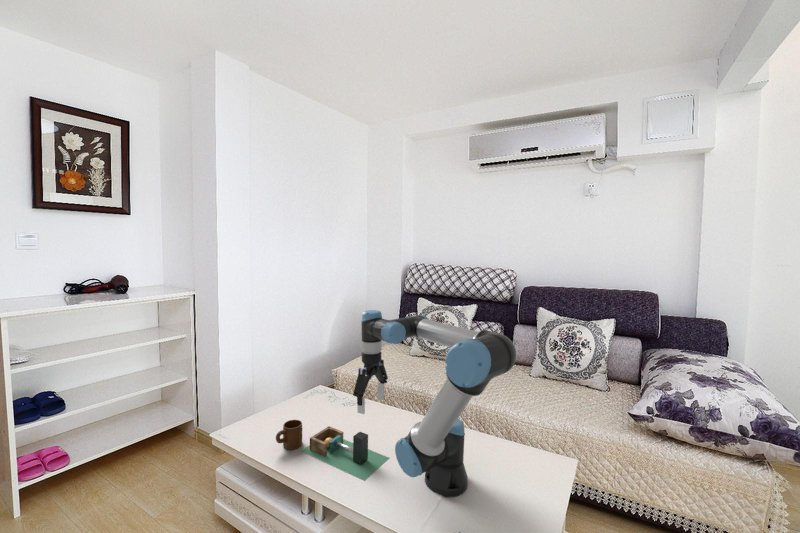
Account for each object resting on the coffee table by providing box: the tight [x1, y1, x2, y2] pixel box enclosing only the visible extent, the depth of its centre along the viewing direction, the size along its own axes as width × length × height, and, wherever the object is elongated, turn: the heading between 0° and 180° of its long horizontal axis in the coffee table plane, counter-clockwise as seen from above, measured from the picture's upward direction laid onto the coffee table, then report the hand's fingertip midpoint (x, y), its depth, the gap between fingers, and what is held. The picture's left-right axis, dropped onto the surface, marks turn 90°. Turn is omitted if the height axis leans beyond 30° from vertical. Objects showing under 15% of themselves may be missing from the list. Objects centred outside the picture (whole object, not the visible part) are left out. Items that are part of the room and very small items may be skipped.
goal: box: [309, 426, 344, 457], centre depth 146 cm, size 8×11×5 cm
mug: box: [275, 419, 303, 451], centre depth 145 cm, size 12×8×9 cm, turn 148°
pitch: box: [301, 438, 390, 482], centre depth 142 cm, size 32×16×1 cm, turn 58°
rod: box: [329, 431, 369, 465], centre depth 140 cm, size 16×6×10 cm, turn 58°
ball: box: [324, 437, 332, 448], centre depth 146 cm, size 4×4×4 cm
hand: (371, 405), depth 137 cm, fingers open, 13 cm apart
